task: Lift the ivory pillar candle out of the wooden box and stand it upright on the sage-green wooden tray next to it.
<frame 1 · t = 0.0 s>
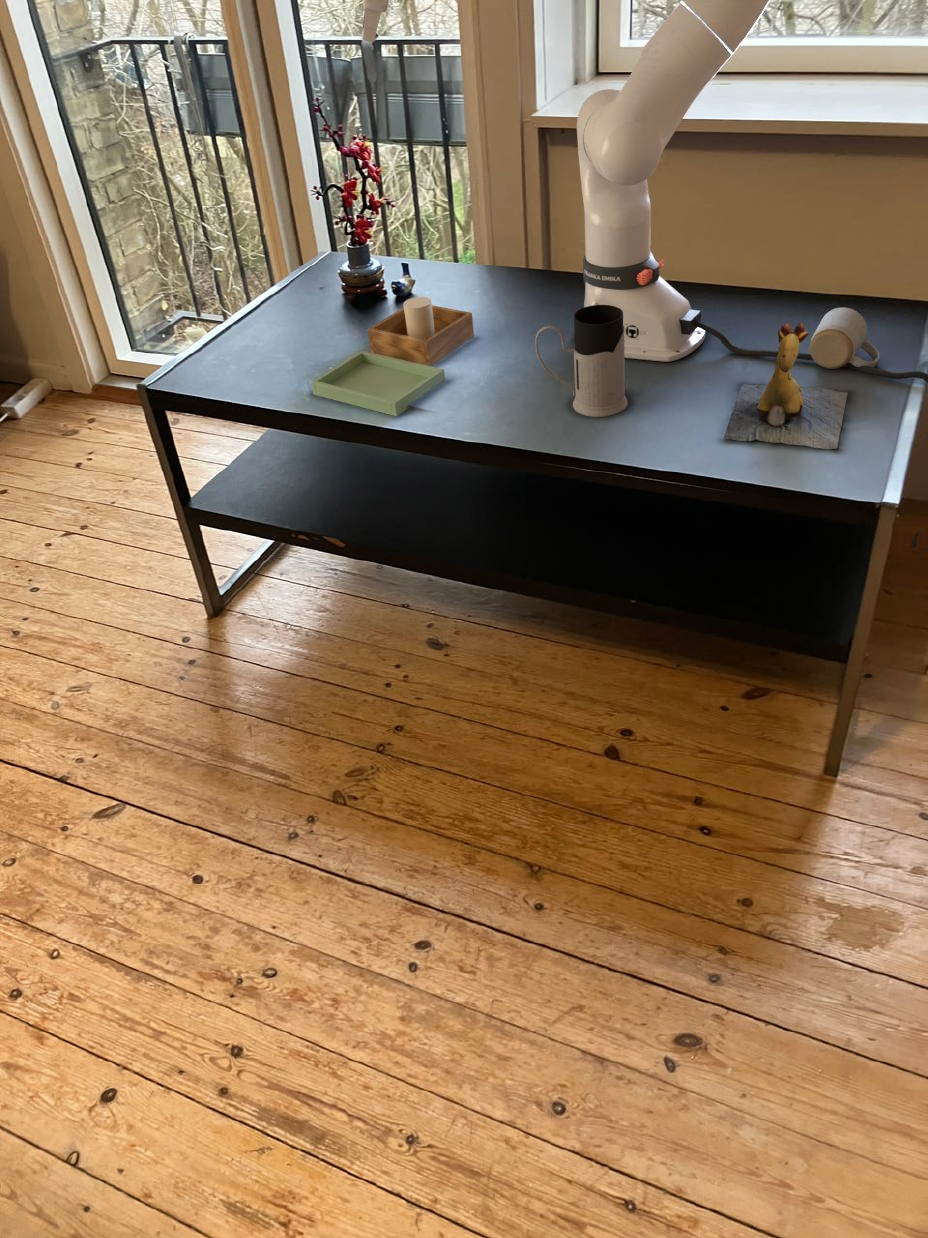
hand: (368, 34, 155), 52 cm above the table, tool tilted 20°, fingers open, 8 cm apart
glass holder: (583, 406, 168), on the table
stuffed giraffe: (786, 417, 159), on the table
ceramic mug: (842, 362, 171), on the table
candle: (422, 344, 191), point 1 cm above the table, touching wooden box
tray: (379, 388, 180), on the table
wooden box: (423, 347, 191), on the table
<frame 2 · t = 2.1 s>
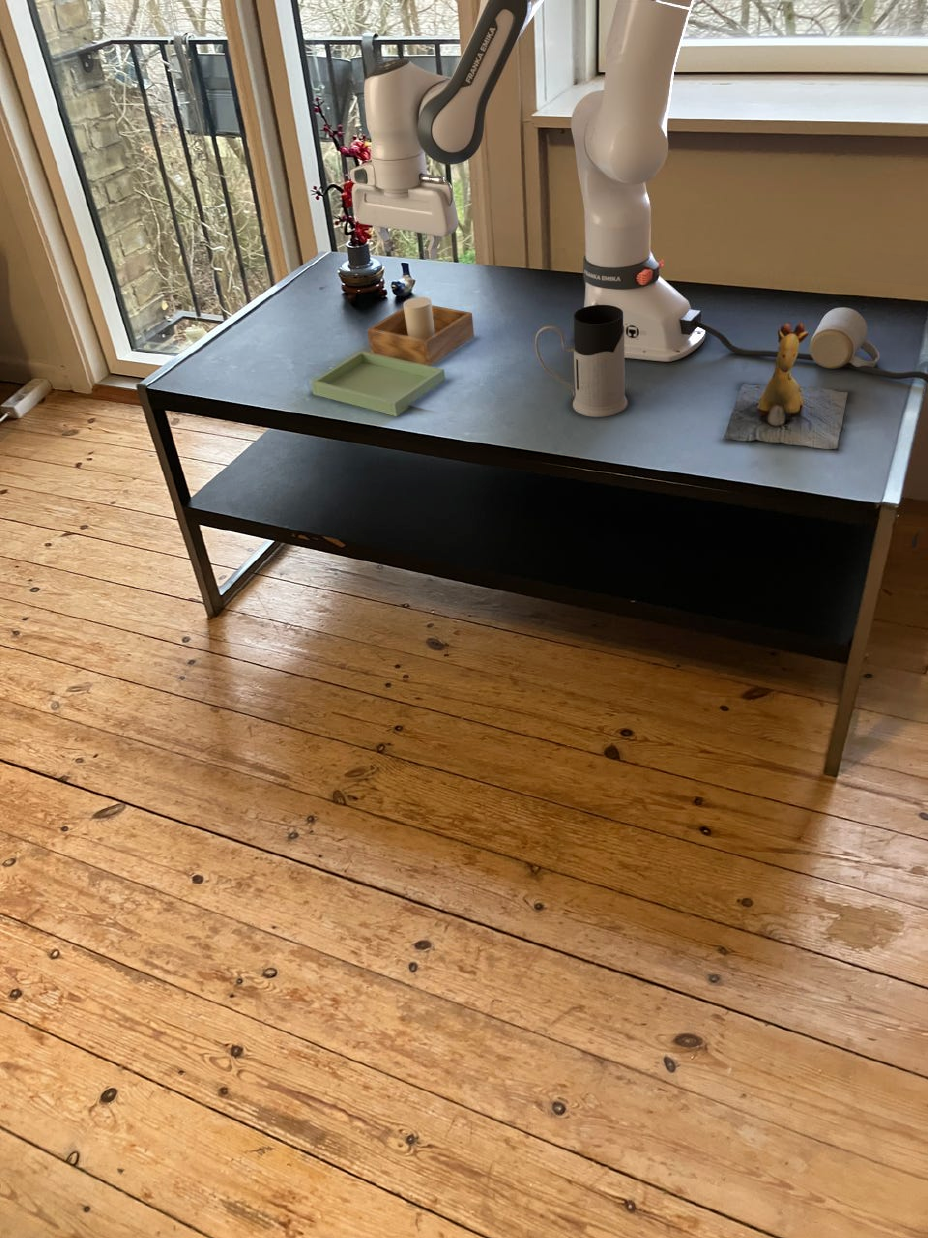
hand: (410, 254, 181), 17 cm above the table, tool pointing down, fingers open, 8 cm apart
nothing on the table moved.
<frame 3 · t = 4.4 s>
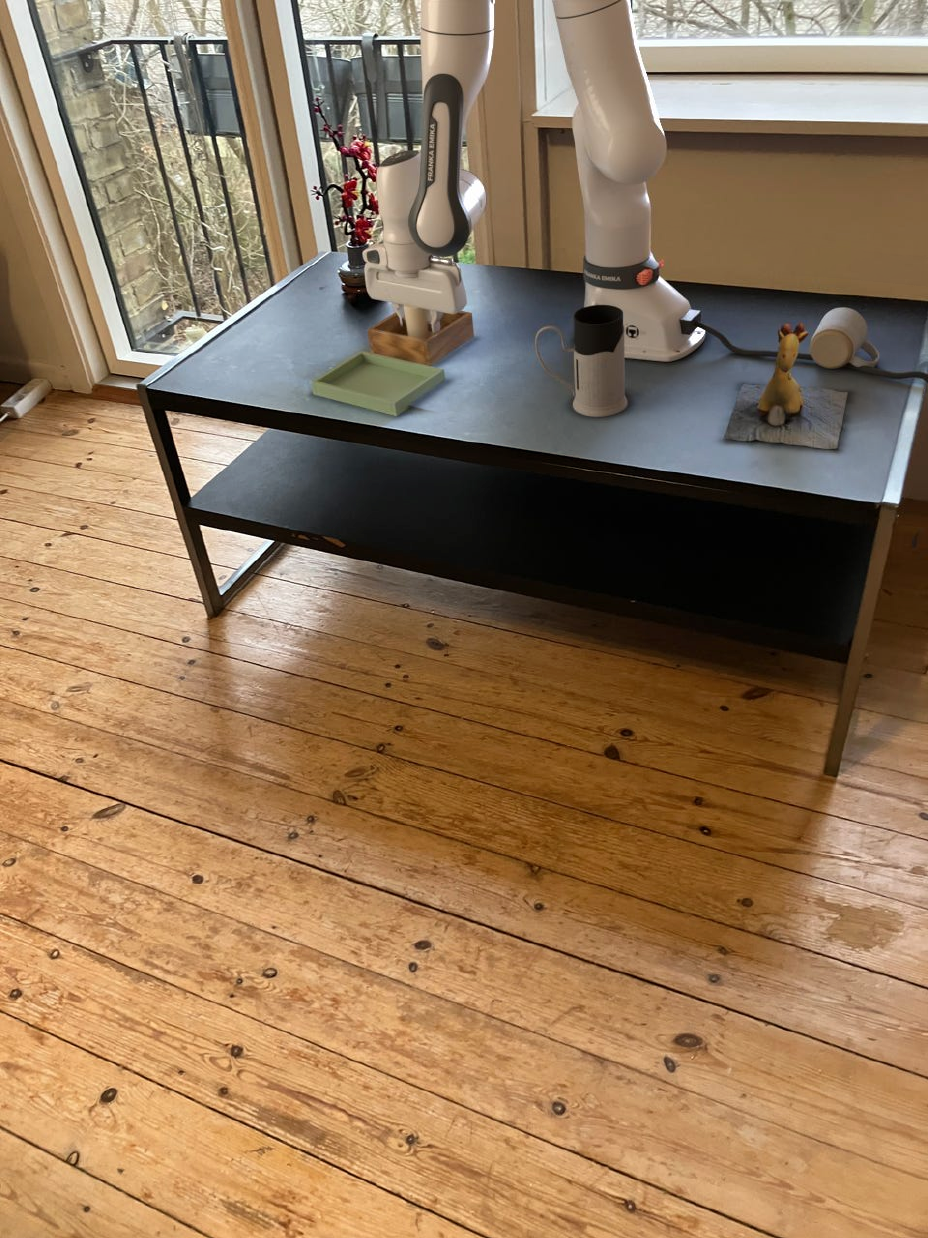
hand: (420, 328, 189), 4 cm above the table, tool pointing down, fingers closed on candle, 5 cm apart
candle: (422, 344, 191), point 1 cm above the table, touching wooden box, gripper
everything else where it was.
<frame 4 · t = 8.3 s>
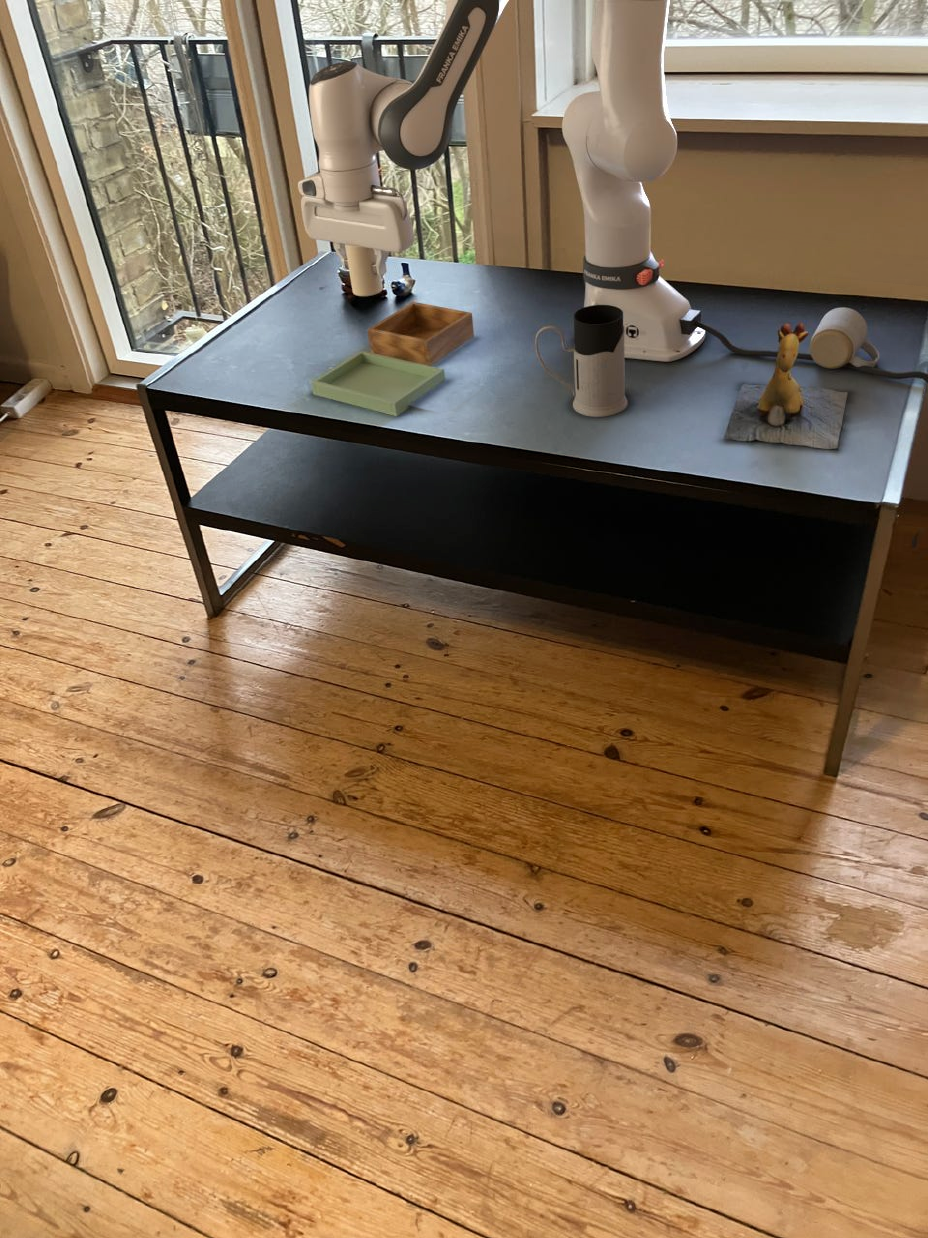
hand: (364, 271, 168), 20 cm above the table, tool pointing down, fingers closed on candle, 5 cm apart
candle: (367, 290, 170), point 17 cm above the table, touching gripper
everything else where it was.
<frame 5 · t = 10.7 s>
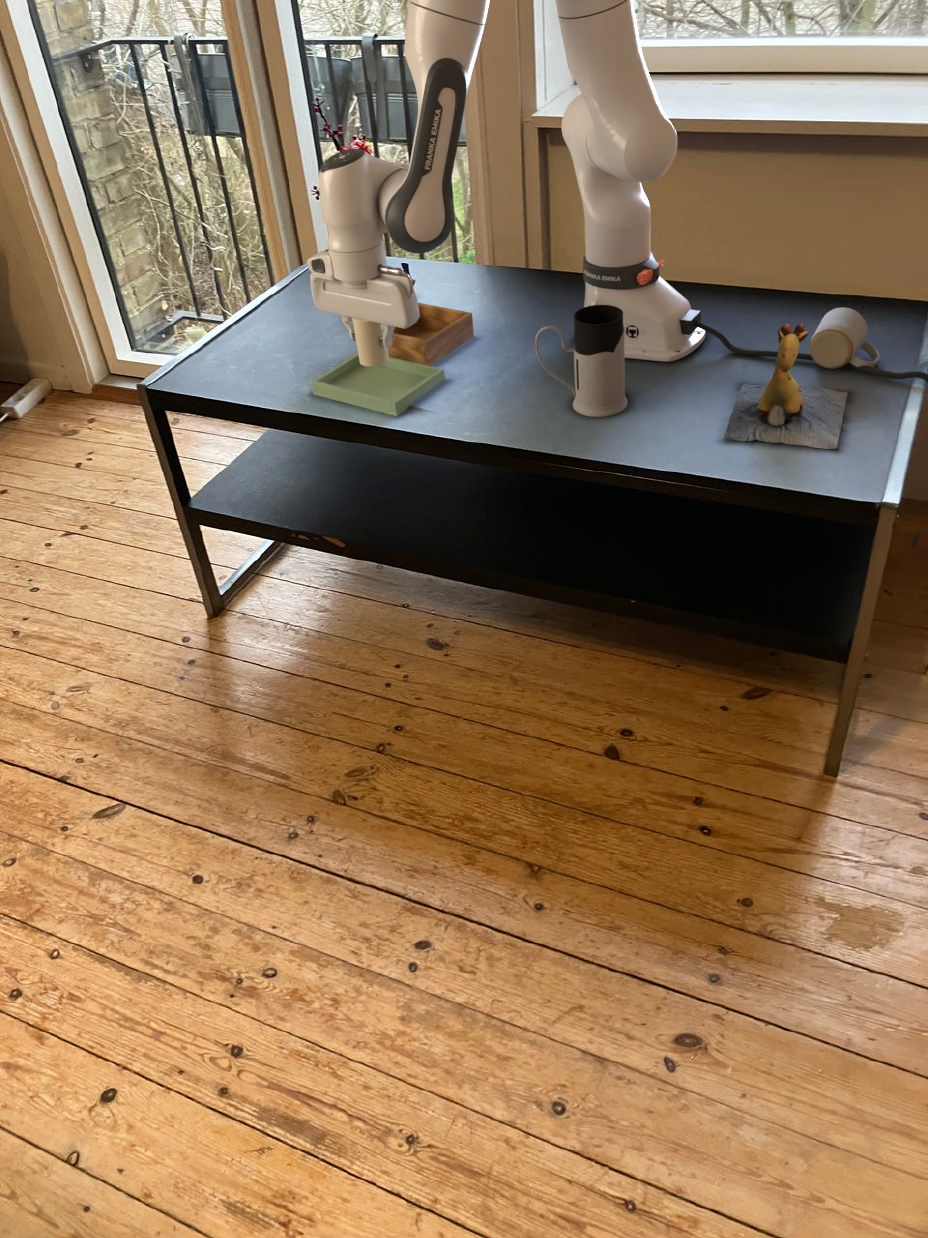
hand: (371, 342, 175), 8 cm above the table, tool pointing down, fingers closed on candle, 5 cm apart
candle: (374, 360, 177), point 5 cm above the table, touching gripper
everything else where it was.
when the fingers open (4 cm above the table, at t = 12.3 s): candle stays where it is, resting on tray.
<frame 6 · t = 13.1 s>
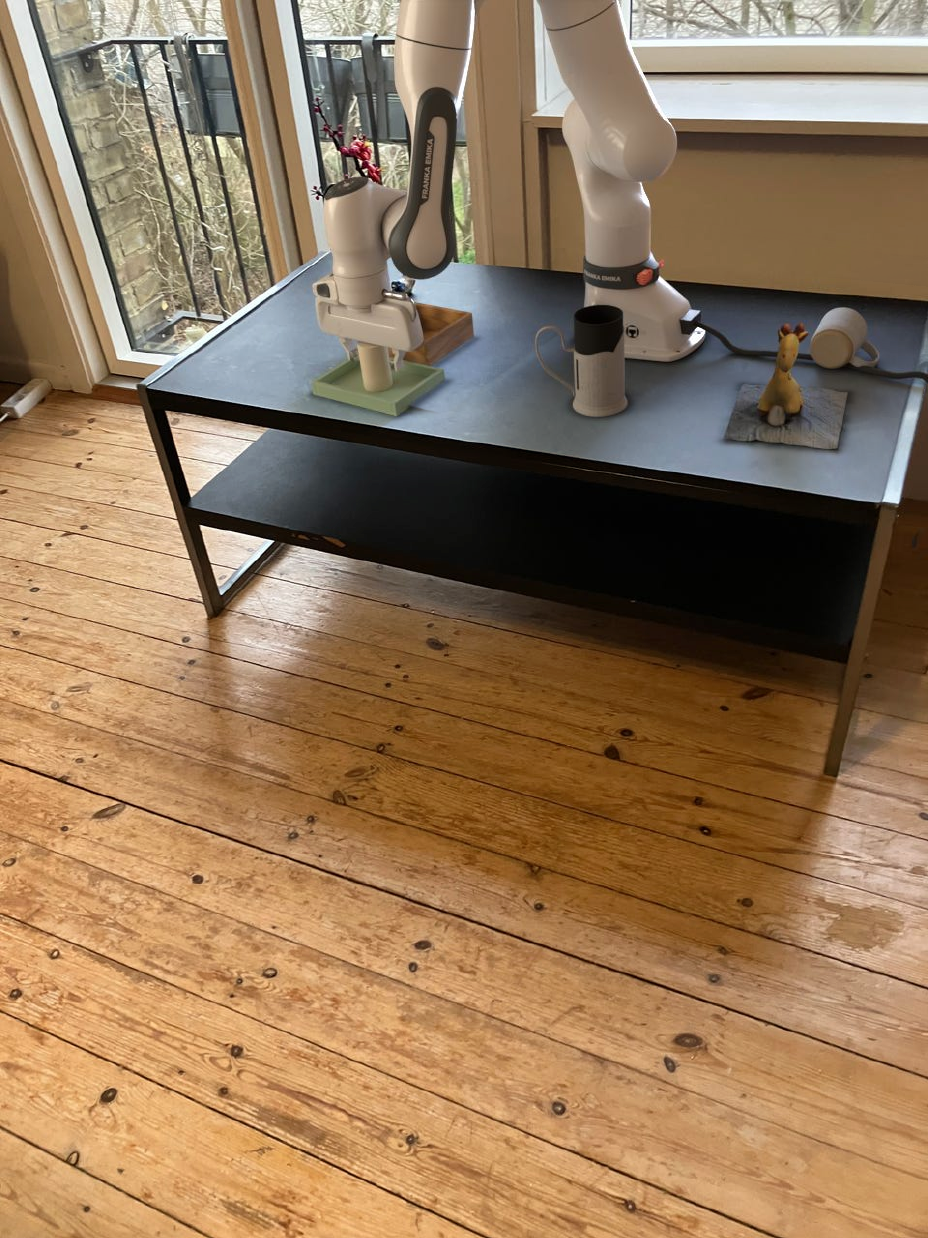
hand: (375, 364, 177), 4 cm above the table, tool pointing down, fingers open, 8 cm apart
candle: (378, 385, 180), point 1 cm above the table, touching tray
everything else where it was.
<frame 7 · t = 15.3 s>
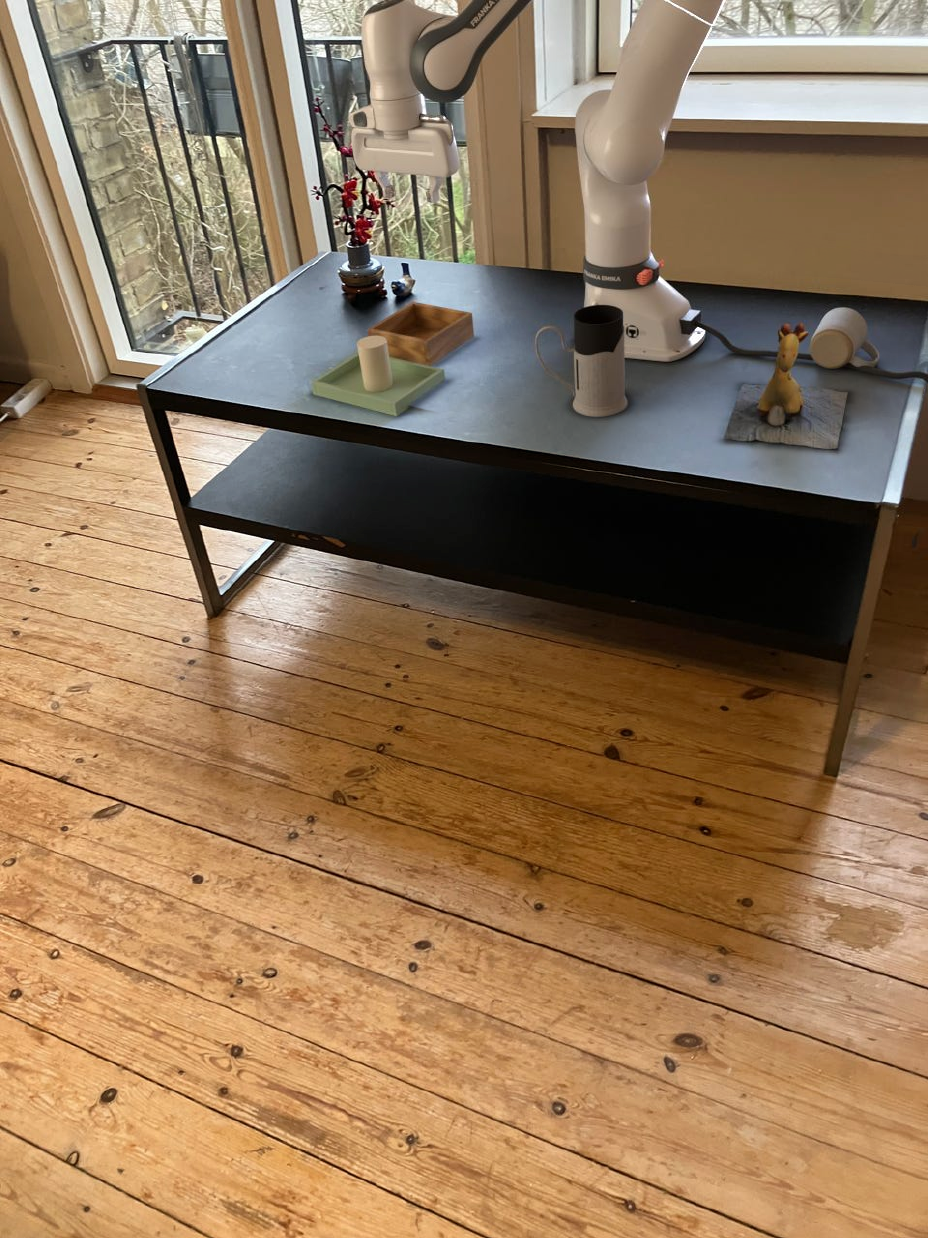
hand: (411, 199, 180), 25 cm above the table, tool pointing down, fingers open, 8 cm apart
nothing on the table moved.
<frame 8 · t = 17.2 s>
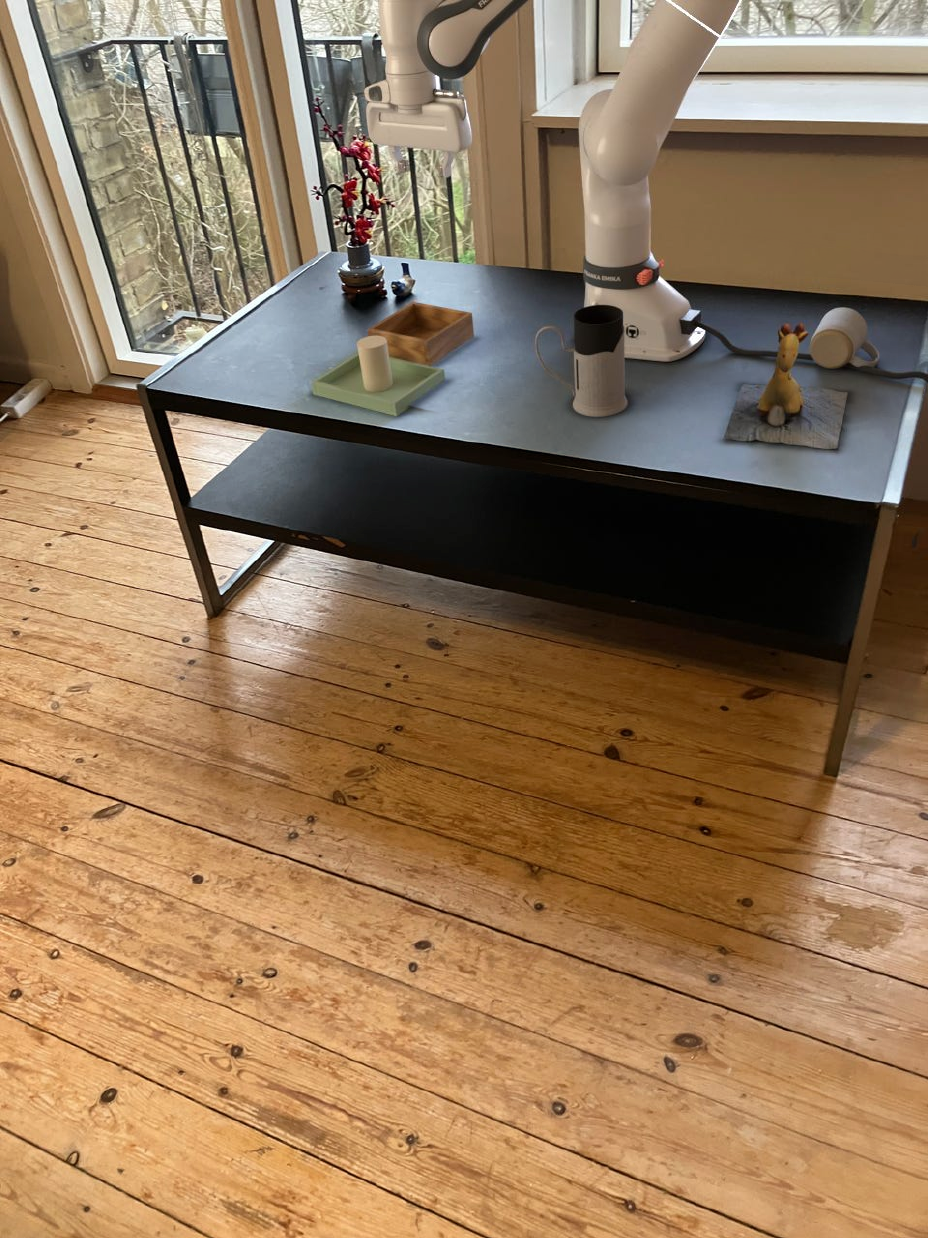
hand: (423, 173, 183), 27 cm above the table, tool pointing down, fingers open, 8 cm apart
nothing on the table moved.
at the end: candle inside the target area in the tray (0.1 cm from its centre), point 0.6 cm above the tray's base; candle tilted 0°; the gripper is holding nothing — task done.
